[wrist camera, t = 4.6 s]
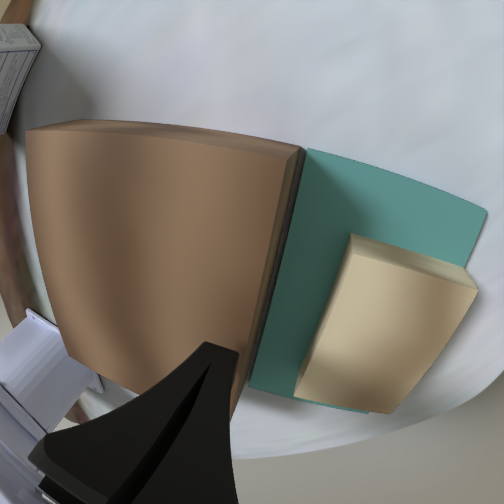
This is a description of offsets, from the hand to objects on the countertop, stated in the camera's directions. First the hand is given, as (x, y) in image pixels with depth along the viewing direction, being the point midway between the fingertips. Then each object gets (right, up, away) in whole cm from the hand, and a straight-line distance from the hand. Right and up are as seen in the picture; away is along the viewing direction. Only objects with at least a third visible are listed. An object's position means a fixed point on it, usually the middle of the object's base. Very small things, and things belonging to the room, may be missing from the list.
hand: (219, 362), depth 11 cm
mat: (+6, +1, +4) cm, 7 cm away
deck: (-4, +4, +5) cm, 7 cm away
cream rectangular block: (+7, 0, +1) cm, 7 cm away
